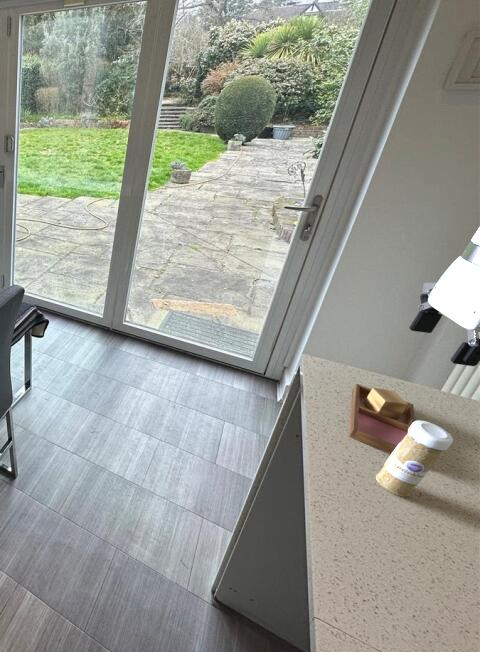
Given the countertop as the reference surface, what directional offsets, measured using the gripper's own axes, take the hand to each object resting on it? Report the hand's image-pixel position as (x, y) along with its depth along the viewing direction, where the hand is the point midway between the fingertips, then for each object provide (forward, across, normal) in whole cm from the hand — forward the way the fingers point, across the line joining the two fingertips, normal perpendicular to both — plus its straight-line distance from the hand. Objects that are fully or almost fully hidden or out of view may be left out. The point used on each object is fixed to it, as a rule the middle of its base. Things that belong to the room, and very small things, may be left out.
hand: (439, 346), depth 72 cm
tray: (+21, +3, -1) cm, 21 cm away
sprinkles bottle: (+21, -14, +6) cm, 26 cm away
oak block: (+21, +6, -3) cm, 22 cm away
